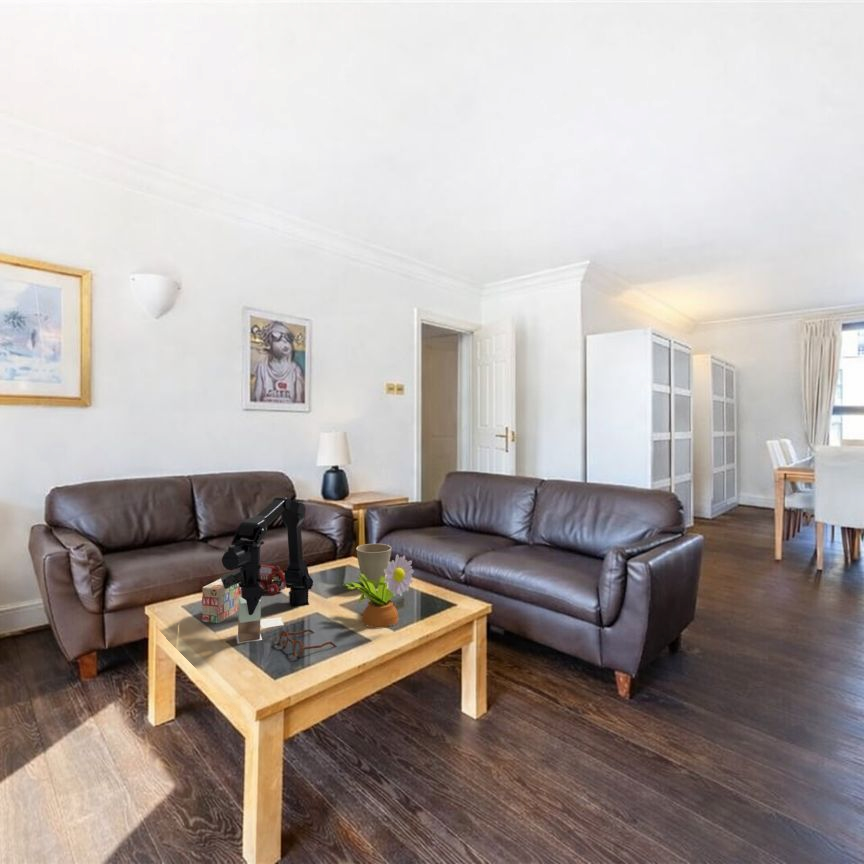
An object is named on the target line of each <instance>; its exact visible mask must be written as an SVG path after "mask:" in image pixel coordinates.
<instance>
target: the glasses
mask: <svg viewBox="0 0 864 864" xmlns="http://www.w3.org/2000/svg"><path fill="white" fill-rule="evenodd" d="M308 632H309V633H311V634H314V633H315V631H313V630H311V629H310V628H309V629H304V630H301V631H297V632H296V631H295V632H287V631H286V630H283V631H281V633H280V634H279V637H278V638H279V639H278V641H279V642H278V643H279V645H280V646H282V647H284V648H287V646H288V645H289V642H290V643H292V644H293V648H292V653H293V655H295V656H296V657H298V658H301V657H302V655H303V651H304V650H311V649H320V648H322V647H324V646H327V645H331V646H333V647H334V648H336V647H337V645H336V644H335V643H334V642H333V641H326V642H323V643H322V644H320V645H310V646H304V645H303V643H302V641H301V640H299V639H298V640H295V641H294V640H293V639H292V638H290V637H289V636H294V635H302V634H304V633H308ZM284 636H285V638H286V642H285V644H284V645H283V643H282V638H283V637H284ZM297 644H299V645H300V652H299V655H298V654H297V653H296V646H297Z"/></svg>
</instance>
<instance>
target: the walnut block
mask: <svg viewBox="0 0 864 864" xmlns="http://www.w3.org/2000/svg"><path fill="white" fill-rule="evenodd" d="M237 617H238V621H237V623H238V624H237V634H238V637H239V642H245V641H252V640H258V639H260V634H261V625H260V620H261V619H260V620H258V621H251V622H243V623H240V621H239V616H237ZM258 641H259V640H258ZM252 642H253V641H252ZM245 643H246V642H245Z"/></svg>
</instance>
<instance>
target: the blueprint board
mask: <svg viewBox="0 0 864 864" xmlns="http://www.w3.org/2000/svg"><path fill="white" fill-rule="evenodd" d="M284 625H285V624H284V622H283V619H282V617H281V616H279V617H272V618H266V619H265V618H264V619H260V629H265V628H275V627H281V626H284ZM235 638H236V643H237V644H239V645H240V644H245V643H250V642H258V641H263V638H262V634H261V633H260V639H258V640H252V641H245V642H239V637H238V633H237V634H236V633H235Z"/></svg>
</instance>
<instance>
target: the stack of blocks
mask: <svg viewBox="0 0 864 864" xmlns="http://www.w3.org/2000/svg"><path fill="white" fill-rule="evenodd" d="M239 583H240V582H239ZM239 597H242V596H241V587H240V586H239V584H238V583H237V584H235V585H233V586H230V588H227V589H225V588H224V586H223V583H222V580H221V577H220V578H219V579H216V580H215V581H213V582H211V583H209V584H206V585H205V586H202V596H201V622H205V623H213V624H214V623H215V624H220V622H222V621H224V620H225V619H228V618H229V617H231V616H232V615H234V614H235V613H236V612H239Z"/></svg>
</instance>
